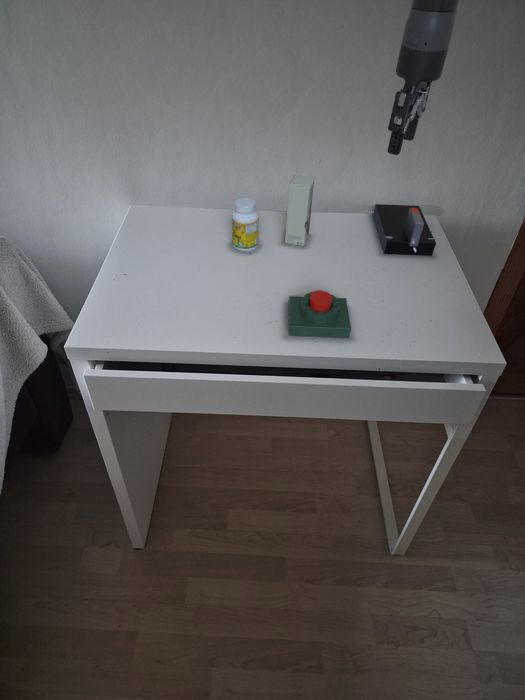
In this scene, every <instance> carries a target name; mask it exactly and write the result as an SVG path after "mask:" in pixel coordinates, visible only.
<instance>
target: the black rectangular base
mask: <svg viewBox="0 0 525 700" xmlns="http://www.w3.org/2000/svg"><path fill="white" fill-rule="evenodd" d="M411 208H418V210H419V213H420V215H421V218H422V220H423V222H424V226H423V230H422V233H421V236H420V239H419V242H418V246H409V243H408V241H407V238H406V235H405V233H404V228H405V224H406V221H407V217H408V213H409V210H410V209H411ZM373 209H374V210H373V214H372V218H373V221H374V225H375V228H376V231H377V234H378V235H377V236H378V238H379V241H380V245H381V249H382V252H383V255H398V256H401V255H402V256H425V257H432V256H433V254H434V251H435V249H436V246H437V242H436V238H435V237H434V235H433V233H432V231H431V229H430V227H429V224H428V222H427V219H426V217H425V215H424V213H423V211H422V209H421V207H420V205H412V204H410V205H408V204H387V203H385V204H384V203H375V205H374V208H373Z"/></svg>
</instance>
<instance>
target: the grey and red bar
mask: <svg viewBox="0 0 525 700" xmlns="http://www.w3.org/2000/svg"><path fill="white" fill-rule="evenodd" d="M423 226H424V222H423V220H422V218H421V215H420V213H419V210H418V208H411V209H410V210H409V213H408V217H407V221H406V224H405V228H404V233H405V235H406V238H407V241H408V243H409V246H418V242H419V239H420V236H421V233H422V230H423Z"/></svg>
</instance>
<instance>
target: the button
mask: <svg viewBox="0 0 525 700" xmlns="http://www.w3.org/2000/svg"><path fill="white" fill-rule="evenodd" d="M312 292H313V293H312V294H311V296H310V303H309V305H310V307H311V309H313V310H316V311H321V312H325V311H328V310H329V309H330V308H331V303H332V296H331V295H332V294H331V293H330V292H328V291H325V290H322V289H321V290H320V289H319V290H314V291H312Z"/></svg>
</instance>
